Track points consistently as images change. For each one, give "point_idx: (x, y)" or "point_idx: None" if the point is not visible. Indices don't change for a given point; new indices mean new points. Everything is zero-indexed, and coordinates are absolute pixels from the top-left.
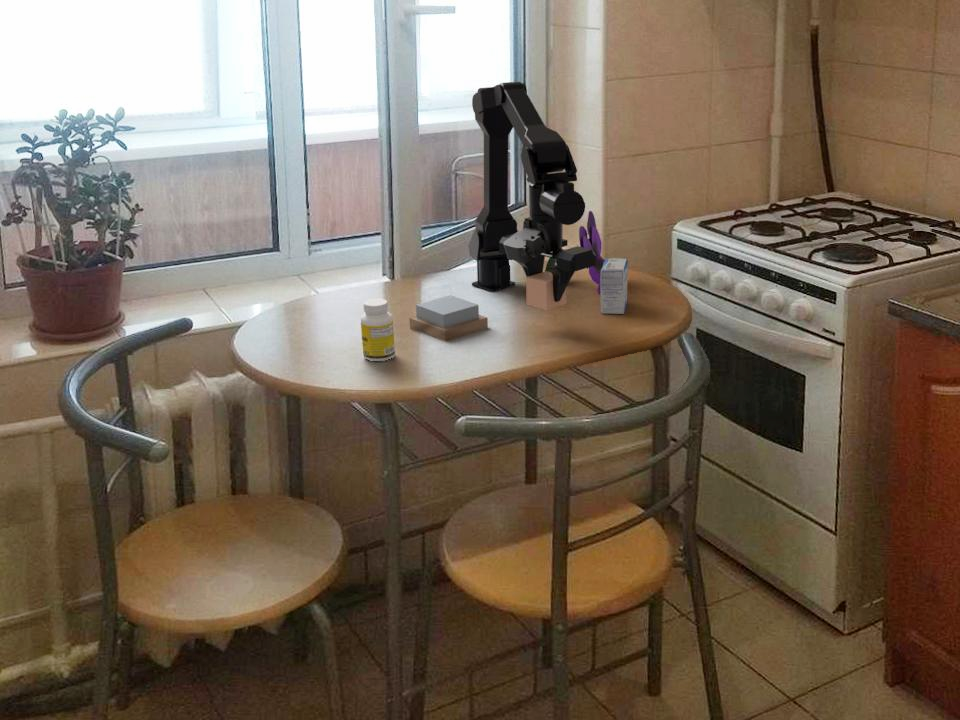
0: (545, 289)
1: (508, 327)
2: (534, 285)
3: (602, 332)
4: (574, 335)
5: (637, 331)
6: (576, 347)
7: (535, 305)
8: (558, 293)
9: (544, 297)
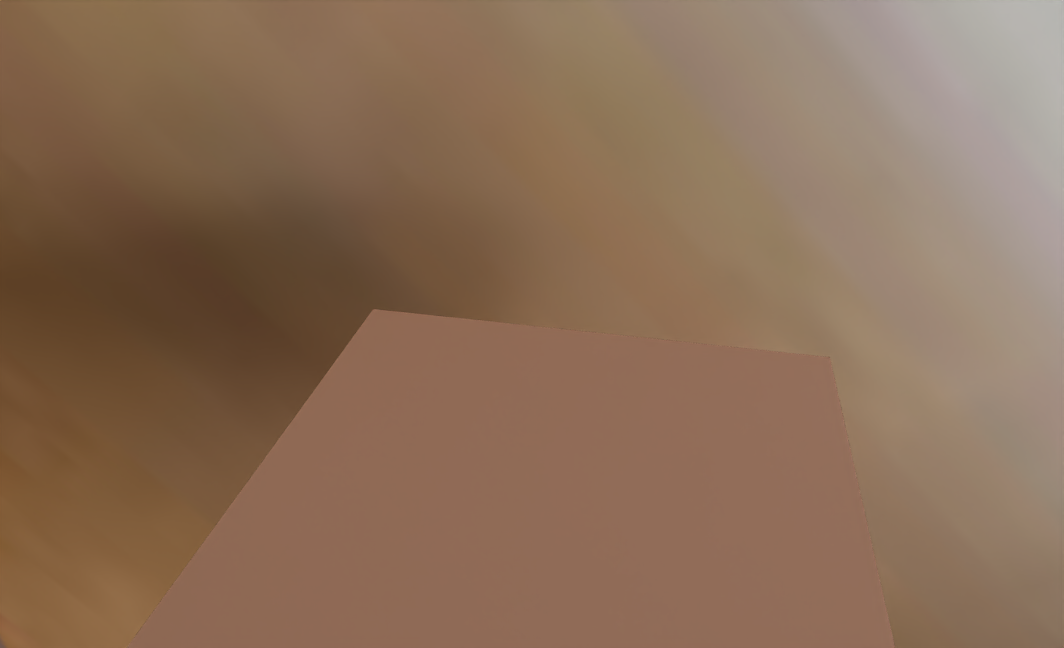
0: (224, 552)
1: (1033, 82)
2: (587, 630)
3: (211, 488)
4: (288, 321)
5: (98, 604)
6: (10, 83)
7: (609, 345)
8: None
9: (333, 432)
